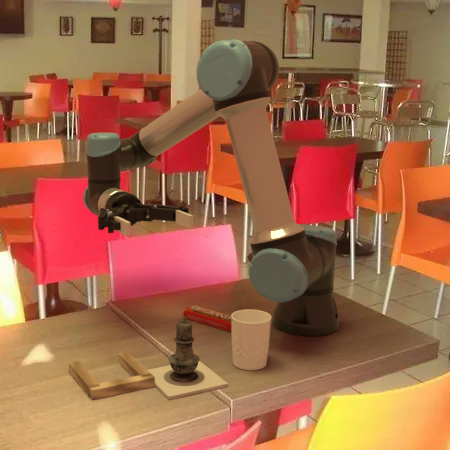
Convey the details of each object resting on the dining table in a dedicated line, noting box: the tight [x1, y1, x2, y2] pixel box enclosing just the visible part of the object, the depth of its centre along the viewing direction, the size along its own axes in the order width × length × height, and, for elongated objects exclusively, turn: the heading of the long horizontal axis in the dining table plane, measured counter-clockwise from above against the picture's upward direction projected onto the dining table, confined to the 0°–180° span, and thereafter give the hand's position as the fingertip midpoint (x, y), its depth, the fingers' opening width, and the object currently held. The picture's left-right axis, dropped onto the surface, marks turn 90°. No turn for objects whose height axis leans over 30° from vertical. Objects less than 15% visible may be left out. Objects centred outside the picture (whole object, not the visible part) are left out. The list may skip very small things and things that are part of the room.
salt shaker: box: [167, 315, 201, 383], centre depth 133 cm, size 6×6×12 cm
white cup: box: [230, 308, 273, 371], centre depth 142 cm, size 8×8×10 cm
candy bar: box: [181, 304, 231, 333], centre depth 164 cm, size 16×4×3 cm, turn 52°
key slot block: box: [68, 351, 155, 401], centre depth 134 cm, size 12×13×2 cm
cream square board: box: [147, 361, 229, 401], centre depth 135 cm, size 12×12×1 cm
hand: (161, 225), depth 142 cm, fingers open, 13 cm apart
